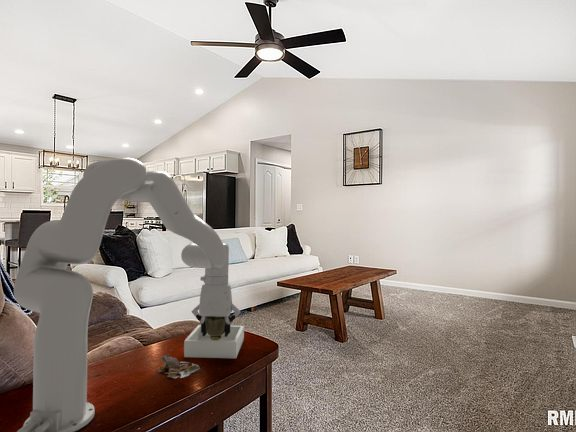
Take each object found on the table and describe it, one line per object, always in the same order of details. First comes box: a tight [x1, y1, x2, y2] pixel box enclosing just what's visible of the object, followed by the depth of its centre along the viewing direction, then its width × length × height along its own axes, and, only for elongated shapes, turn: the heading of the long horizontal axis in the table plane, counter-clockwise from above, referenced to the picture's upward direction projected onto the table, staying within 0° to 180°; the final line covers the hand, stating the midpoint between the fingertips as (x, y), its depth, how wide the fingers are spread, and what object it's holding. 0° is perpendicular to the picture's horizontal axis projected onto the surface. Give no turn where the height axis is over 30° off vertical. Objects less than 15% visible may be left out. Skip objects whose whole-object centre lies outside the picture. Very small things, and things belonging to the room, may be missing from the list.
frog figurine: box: [157, 354, 201, 379], centre depth 100 cm, size 12×12×4 cm
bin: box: [183, 324, 245, 359], centre depth 117 cm, size 16×16×5 cm
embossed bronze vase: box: [205, 317, 226, 340], centre depth 117 cm, size 8×7×8 cm
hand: (215, 334), depth 117 cm, fingers closed on embossed bronze vase, 6 cm apart
